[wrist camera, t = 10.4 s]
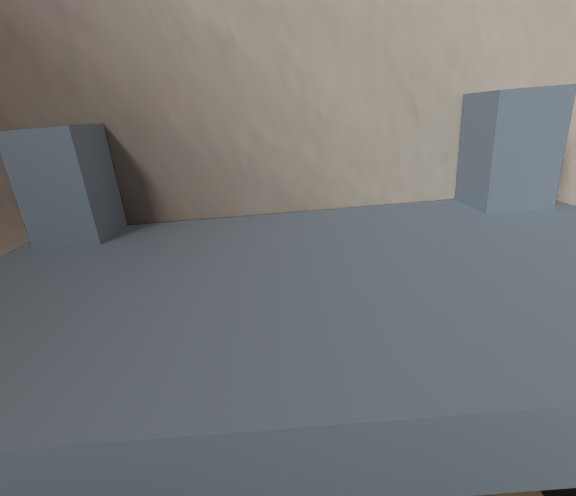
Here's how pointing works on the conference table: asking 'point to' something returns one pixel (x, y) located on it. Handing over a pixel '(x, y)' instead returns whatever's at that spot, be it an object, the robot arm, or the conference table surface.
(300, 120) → the conference table surface
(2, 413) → the wall board
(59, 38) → the conference table surface
